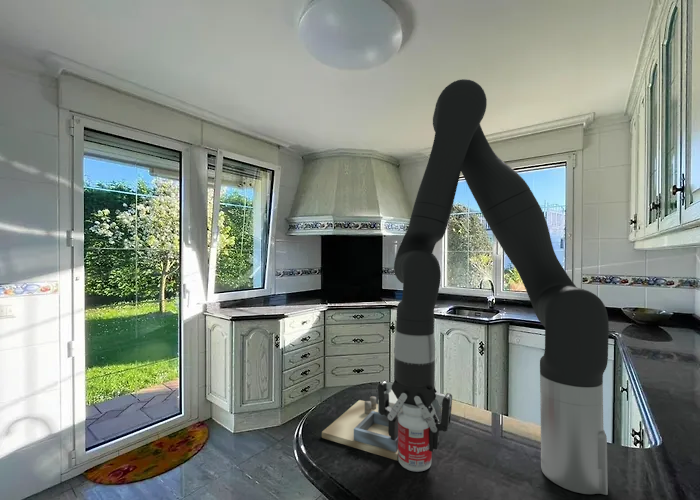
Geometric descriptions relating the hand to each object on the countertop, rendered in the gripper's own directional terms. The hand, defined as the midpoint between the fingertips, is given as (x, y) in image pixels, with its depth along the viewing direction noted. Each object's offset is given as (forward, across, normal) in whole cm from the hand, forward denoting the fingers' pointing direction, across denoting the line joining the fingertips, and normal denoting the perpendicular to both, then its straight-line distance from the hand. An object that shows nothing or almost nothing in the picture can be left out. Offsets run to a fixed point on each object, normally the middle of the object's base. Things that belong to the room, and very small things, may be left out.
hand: (413, 443), depth 63 cm
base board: (+4, +11, -8) cm, 14 cm away
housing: (+2, +8, -13) cm, 15 cm away
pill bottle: (+4, 0, 0) cm, 4 cm away
